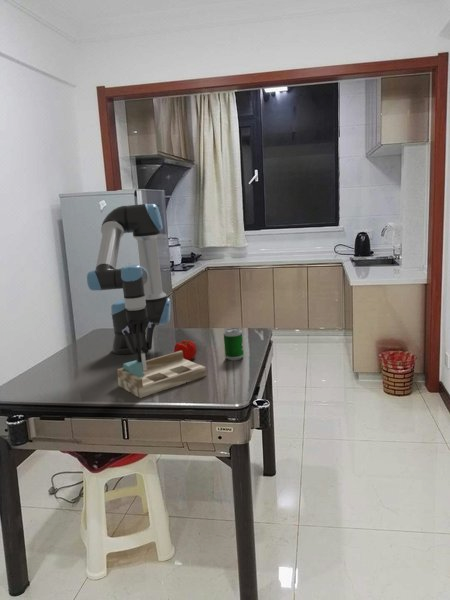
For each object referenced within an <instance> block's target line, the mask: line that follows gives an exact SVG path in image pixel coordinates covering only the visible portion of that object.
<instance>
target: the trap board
mask: <svg viewBox="0 0 450 600" xmlns="http://www.w3.org/2000/svg"><path fill="white" fill-rule="evenodd" d="M146 366H147V370H145V371H143V370H142V371H143V376H142V377H137V376H135V375H133V374H131V373H129V372H127V371H125V370H124V366H122V367H119V368H117V369H116V374H117V375H116V376H117V383H118V386H119V387H120V388H122V389H124V390H125V391H128V392H129V393H130V392H131V393H130V394H132V395H134V396H136V397H138V398H139V399H142V398H144V397H148V396H151V395H154V394H157V393H160V392H163V391H166V390H169V389H172V388H174V387H175V388H176V387H178V386H180V385H183V384H186V382H187V383H190V382H192V381H196V380H198V379H202V378H204V377H206V376H207V370H206V368H207V367H206V366H204V365H202V364H199V363H196V362H194V361H192V360H186V359H184V358H183V351H177V352H171V353H168V354H164V355H161V356H158V357H153V358H150V359H148V360H146Z"/></svg>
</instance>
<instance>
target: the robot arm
mask: <svg viewBox="0 0 450 600" xmlns="http://www.w3.org/2000/svg"><path fill="white" fill-rule="evenodd" d="M162 230H163V220H162V216H161V212H160V209H159V207H158V206H157V204H155V203H142V204H133V205H121V206H118V207H116V208H114V209H113V210H111V211H110V212H109V213H108V214H107V215H106V217H105V218H104V220H103V221H102V224H101V228H100V232H101V239H100V245H99V250H98V256H97V260H96V265H95V269H93V270H90V271H88V273H87V274H86V282H87V286H88V289H89V290H90V291H101V292H102V291H109V290H118V289H119V290H120V289H122V292H123V299H120V300H117V301H114V302H113V303H112V304H111V313H110V314H111V319H112V326H113V332H114V336H113V340H112V345H111V347H112V348H111V349H112V353H113V354H116V355H132V354H135V356H136V361H138V362H140V363H142V370H143V371H145V370H147V366H146V360H149V358H148V353H149V351H150V350H152V345H153V338H154V337H153V335H154V329H155V327H156V326H161V325H167V324H169V323H170V320H171V312H172V311H171V307H172V303H171V298H169V297H167V293H165V292H164V290H163V283H162V273H161V272H162V271H161V265H160V263H161V262H160V257H159V256H160V255H159V254H160V253H159V247H158V238H159V236H160V235H161V234H160V233H161V232H160V231H162ZM129 233H132V237H133V238H134V239H135V240H136V242H137V249H138V258H139V264H130V265H125V266H122V267H121V268H117V262H118V256H119V250H120V244H121V239H122V237H124V234H129ZM146 330H147V331H146Z"/></svg>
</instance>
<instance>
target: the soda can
mask: <svg viewBox="0 0 450 600" xmlns="http://www.w3.org/2000/svg"><path fill="white" fill-rule="evenodd" d="M223 341H224V353H225V358H227V359H228V361H239V360H241V359H242V358H243V357H244V343H243V342H244V341H243V331H242V330H241V329H240V328H237V327H231V328H227V329H225V330H224V332H223Z"/></svg>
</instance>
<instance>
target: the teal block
mask: <svg viewBox="0 0 450 600" xmlns="http://www.w3.org/2000/svg"><path fill="white" fill-rule="evenodd" d="M122 367H124V370H125V371H127V372H129V373H131V374H133V375H135V376H137V377H142V376H143V371H142V363H140V362H138V361H137V359H135V360H132V361H128V362H123V364H122Z"/></svg>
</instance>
